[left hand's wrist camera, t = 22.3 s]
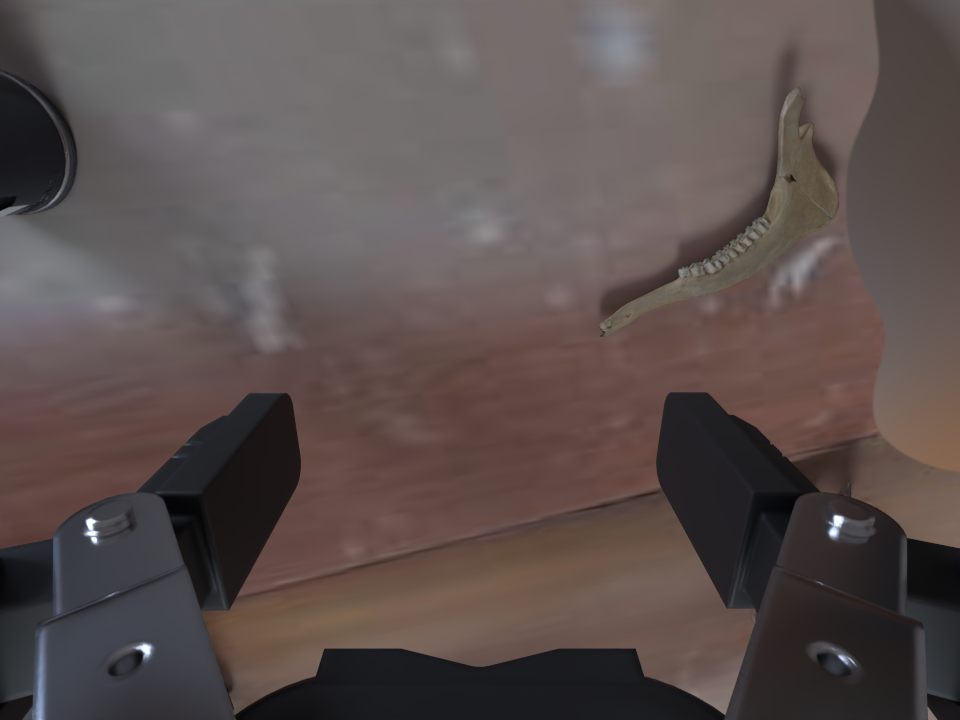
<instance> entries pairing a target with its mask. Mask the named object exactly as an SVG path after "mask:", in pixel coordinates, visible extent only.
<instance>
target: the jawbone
mask: <svg viewBox="0 0 960 720" xmlns="http://www.w3.org/2000/svg"><path fill="white" fill-rule="evenodd" d="M800 95H801V89H799V87H797V88H796V89H794V90H793V91H792V92H791V93H789V95H788V96H787V98H786V100H785V102H784V106H783V108H782V111H781V114H780V120H779V130H778V165H777V175H776V179H775V184H774V187H773V189H772V191H771V194H770V198H769V202H768V206H767V209H766V211H765V213H764V215H763V216H762V217H760V218H758V220H756V219H755V221H753V222H752V226H751V227H749V226H747V228H746V229H745V230H746V231H745V233H744V234H743V233H740V234H739V235H737V240H734V239H733V240H732V241H730V244H731V245H730V246H728V245H726V246H724V248H723V250H722V251H721V250H719V251H717V252H716V255H715V256H712V259H711V260H709V258H706V259H704V262H703V263H701V262H699V263H697V262H695V263H692V265H691V266H690V267H689V268H688V266H686V268H684V267H682V269H679V270H678V273H679V275H680V277H679V278H678V279H677V280H675V281H673V282H671V283H668V284H666V285H664V286H662V287H660V288H658V289H656V290H654V291H652V292H650V293H648V294H646V295H644V296H642V297H640V298H637V299H635V300H633V301H631V302H629V303H628V304H626V305H624V306H623V307H621V308H620V309H619V310H618V311H616V312H615V313H614V314H613V315H612V316H611V317H609V318H608V319H606V320H605V321H604V322H602V323H601V324H599V325H600V330H601V331H603V333H601V335H600V336H601V337H604V336H606V335H609V334H611V333H613V332H615V331H617V330H619V329H620V328H622V327H624V326H626V325H627V324H629V323H630V322H632V321H634V320H635V319H636V318H638V317H639V316H641V315H643V314H644V313H646V312H648V311H650V310H652V309H655V308H657V307H660V306H662V305H665V304H669V303H673V302H677V301H681V300H686V299H690V298H695V297H699V296H703V295H707V294H710V293H713V292H716V291H719V290H722V289H725V288H728V287H730V286H733V285H735V284H737V283H739V282H741V281H743V280H744V279H746V278H748V277H750V276H751V275H753V274H755V273H756V272H758V271H759V270H761V269H762V268H764V267H765V266H767V265H768V264H770V263H771V262H773V261H774V260H775V259H777V258H778V257H779V256H781V255H782V254H784V253H785V252H786V251H787V250H788V249H789V248H791V247H792V246H793V245H794V244H795V243H797V242H798V241H799V240H800V239H802V238H803V237H804V236H806V235H807V234H809V233H811V232H813V231H817V230H820V229H822V228H824V227H825V226H827V225H828V223H829V222H830V221H831V219H832V220H833V219H834V218H835V215H836V213H837V211H838V207H839V192H838V188H837V186H836V183H835V181H834V180H833V178H832V177H831V176H830V174H829V173H828V171H827V170H826V169H825V168H824V167H823V166H822V164H821V163H820V161H819V160H818V158H817V156H816V154H815V151H814V148H813V144H812V137H813V132H814V124H813V123H807V124H805V125H803V126H801V127H799V119H800V114H801V110H802V107H803V105H804V102H805V99H802V97H801V96H800Z"/></svg>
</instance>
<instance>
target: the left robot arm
mask: <svg viewBox="0 0 960 720" xmlns="http://www.w3.org/2000/svg"><path fill="white" fill-rule="evenodd" d="M75 174H76V153H75V148H74V144H73V140H72V137H71V135H70V132H69V130H68V128H67V126H66V124H65V122H64V120H63V118H62V117H61V115H60V114H59V112H58V111H57V110H56V108H55V107H54V106H53V105H52V103H51V102H50V101H49V100H48V99H47V98H46V97H45V96H44V95H43V94H42V93H41V92H40V91H39V90H37V89H36V88H35V87H34V86H32V85H31V84H29V83H28V82H26V81H25V80H23V79H21V78H19V77H18V76H15V75H13V74H11V73H8V72H5V71H2V70H0V217H2V216H7V215H26V214H34V213H40V212H43V211H47V210H49V209H51V208H53V207H55V206H57V205H58V204H59V203H60V202H61V201H62V200H63V199H64V198H65V197H66V196H67V195H68V193H69V191H70V190H71V188H72V185H73V183H74V179H75ZM656 465H657V475H658V479H659V483H660V485H661V487H662V489H663V491H664V493H665V495H666V497H667V499H668V500H669V502H670V504H671V506H672V508H673V510H674V511H675V513H676V515H677V517H678V519H679V521H680V523H681V524H682V526H683V528H684V530H685V532H686V534H687V536H688V537H689V539H690V541H691V543H692V545H693V547H694V548H695V550H696V552H697V554H698V556H699V558H700V560H701V561H702V563H703V565H704V567H705V569H706V571H707V573H708V574H709V576H710V578H711V580H712V582H713V584H714V585H715V587H716V589H717V591H718V593H719V595H720V597H721V598H722V600H723V602H724V604H725V606H726V608H755V610H756V611H757V613H758V615H757V619H756V622H755V625H754V628H753V631H752V634H751V637H750V640H749V644H748V647H747V650H746V653H745V656H744V659H743V662H742V665H741V668H740V672H739V675H738V678H737V681H736V684H735V687H734V690H733V693H732V697H731V700H730V703H729V706H728V709H727V712H726V715H724V714H723V713H721V712H720V711H718V710H717V709H716V708H714V707H713V706H711V705H709V704H708V703H706V702H704V701H702V700H701V699H699V698H697V697H696V696H694V695H692V694H690V693H688V692H685V691H683V690H681V689H679V688H677V687H675V686H672V685H670V684H667V683H664V682H661V681H658V680H656V679H652V678H648V677H645V676H644V674H643V671H642V668H641V665H640V661H639V658H638V655H637V652H636V649H556V650H552V651H548V652H544V653H540V654H535V655H531V656H527V657H523V658H519V659H515V660H511V661H507V662H503V663H499V664H495V665H491V666H486V667H474V666H469V665H465V664H461V663H457V662H453V661H449V660H445V659H441V658H437V657H433V656H429V655H425V654H420V653H416V652H412V651H408V650H404V649H324V652H323V655H322V658H321V661H320V665H319V668H318V671H317V674H316V676H315V677H312V678H308V679H304V680H302V681H299V682H296V683H293V684H290V685H288V686H285V687H283V688H281V689H279V690H277V691H275V692H272V693H270V694H268V695H266V696H264V697H263V698H261V699H259V700H258V701H256V702H254V703H252V704H251V705H249V706H247V707H246V708H244V709H243V710H242V711H240V712H239V713H237V714H236V715H234V712H233V709H232V706H231V703H230V700H229V697H228V693H227V690H226V687H225V684H224V681H223V678H222V675H221V672H220V668H219V665H218V662H217V659H216V656H215V653H214V650H213V647H212V644H211V640H210V637H209V634H208V631H207V628H206V625H205V622H204V619H203V615H202V612H201V610H229V609H230V608H231V606H232V604H233V602H234V600H235V598H236V597H237V595H238V593H239V591H240V589H241V588H242V586H243V584H244V582H245V580H246V578H247V577H248V575H249V573H250V571H251V569H252V567H253V566H254V564H255V562H256V560H257V558H258V556H259V555H260V553H261V551H262V549H263V547H264V545H265V544H266V542H267V540H268V538H269V536H270V535H271V533H272V531H273V529H274V527H275V525H276V524H277V522H278V520H279V518H280V516H281V514H282V513H283V511H284V509H285V507H286V505H287V503H288V502H289V500H290V498H291V496H292V494H293V492H294V491H295V489H296V487H297V484H298V481H299V477H300V471H301V457H300V450H299V443H298V437H297V430H296V423H295V417H294V410H293V404H292V400H291V398H290V396H289V395H288V394H287V393H250V394H248V395H247V396H246V397H245V398H244V399H243V400H242V401H241V402H240V403H239V405H238V406H237V407H236V408H235V409H234V410H233V411H232V412H231V413H230V414H229V415H228V416H222V417H220V418H218V419H217V420H215V421H213V422H211V423H209V424H207V425H206V426H204V427H202V428H200V429H199V430H198V431H197V432H196V433H195V434H194V435H193V436H192V437H191V438H190V439H189V440H188V441H187V442H186V446H182V447H181V448H180V449H179V450H178V451H177V452H176V453H175V454H174V458H170V459H169V460H168V461H167V462H166V463H165V464H164V465H163V466H162V467H161V468H160V469H159V470H158V471H157V472H156V473H155V474H154V475H153V476H152V477H151V478H150V479H149V480H148V481H147V482H146V483H145V484H144V485H143V486H142V487H141V488H140V489H139V490H138V491H137V492H134V493H126V494H121V495H116V496H113V497H109V498H106V499H103V500H100V501H98V502H95V503H93V504H91V505H89V506H87V507H85V508H83V509H81V510H79V511H78V512H76V513H74V514H73V515H72V516H70V517H69V518H68V519H66V520H65V521H64V522H63V523H62V524H61V525H60V527H59V528H58V529H57V530H56V532H55V534H54V538H53V539H50V540H45V541H40V542H34V543H29V544H24V545H19V546H14V547H9V548H4V549H0V720H23V718H24V717H25V715H26V714H27V713H28V711H29V710H30V709H31V707H32V706H33V709H32V720H928V709H927V706H928V707H929V709H930V710H931V711H932V713H933V714H934V716H935V717H936V718H937V720H960V548H955V547H950V546H945V545H940V544H934V543H929V542H924V541H919V540H914V539H909V538H906V534H905V532H904V530H903V529H902V528H901V527H900V525H899V524H898V523H897V522H896V521H895V520H894V519H892V518H891V517H890V516H888V515H887V514H886V513H884V512H882V511H881V510H879V509H877V508H875V507H873V506H871V505H869V504H867V503H865V502H862V501H860V500H857V499H854V498H851V497H847V496H844V495H839V494H834V493H826V492H820V491H819V490H818V489H817V488H816V487H815V486H814V485H813V484H812V483H811V482H810V481H809V480H808V479H807V478H806V477H805V476H804V475H803V474H802V473H801V472H800V471H799V470H798V469H797V468H796V467H795V466H794V465H793V464H792V463H791V462H790V461H789V460H788V459H787V458H786V457H782V453H781V452H780V451H779V450H778V449H777V448H776V447H775V446H774V445H773V444H770V441H769V440H768V439H767V438H766V437H765V436H764V435H763V434H762V433H761V432H760V431H759V430H758V429H757V428H756V427H754V426H753V425H751V424H749V423H747V422H745V421H744V420H742V419H740V418H738V417H736V416H734V415H728V414H727V412H726V411H725V410H724V409H723V408H722V407H721V406H720V405H719V404H718V403H717V402H716V401H715V400H714V399H713V398H712V397H711V396H710V395H709V394H708V393H706V392H671V393H669V394H668V395H667V397H666V400H665V404H664V410H663V417H662V424H661V431H660V438H659V444H658V451H657V461H656Z"/></svg>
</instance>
